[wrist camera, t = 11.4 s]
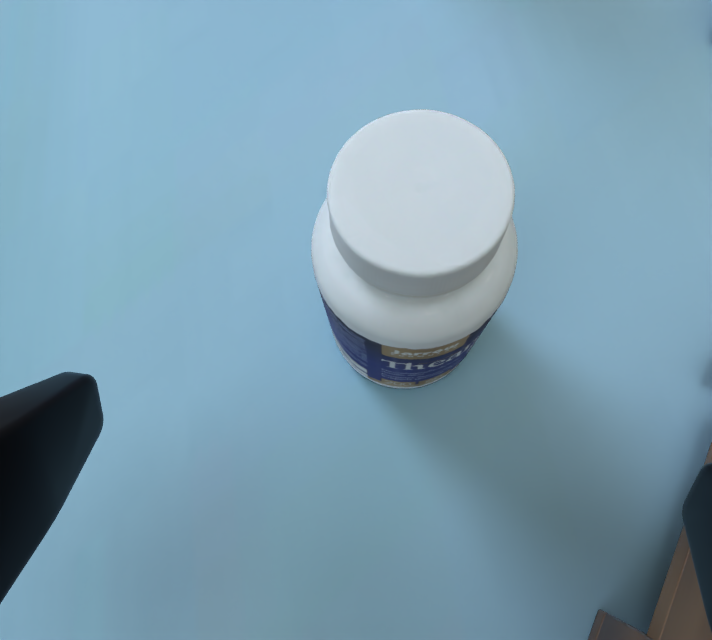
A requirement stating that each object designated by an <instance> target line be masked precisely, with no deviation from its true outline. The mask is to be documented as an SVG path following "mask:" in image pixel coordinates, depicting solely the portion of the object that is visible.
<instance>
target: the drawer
mask: <svg viewBox="0 0 712 640" xmlns="http://www.w3.org/2000/svg"><path fill="white" fill-rule="evenodd" d="M707 463H712V443H711V446H710V449H709V452H708V454H707V457H706V460H705V463H704V465H706V464H707ZM647 636H649V637H651V638H652V639H654V640H712V632H711V629H710V626H709V623H708V619H707V615H706V612H705V608H704V604H703V600H702V596H701V592H700V588H699V584H698V580H697V576H696V572H695V568H694V564H693V560H692V556H691V552H690V547H689V543H688V539H687V535H686V531H685V527H684V525H683V528H682V531H681V534H680V537H679V540H678V543H677V546H676V549H675V552H674V555H673V558H672V561H671V564H670V567H669V570H668V573H667V576H666V579H665V582H664V585H663V588H662V590H661V593H660V596H659V599H658V602H657V605H656V608H655V611H654V614H653V617H652V620H651V623H650V626H649V629H648V632H647Z"/></svg>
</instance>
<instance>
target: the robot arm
mask: <svg viewBox="0 0 712 640" xmlns="http://www.w3.org/2000/svg"><path fill="white" fill-rule="evenodd" d="M102 426H103V413H102V408H101V402H100V397H99V392H98V387H97V383H96V380H95V379H94V377H92V376H91V375H88V374H81V373H74V372H64V373H61V374H58V375H56V376H53V377H51V378H48V379H46V380H43V381H41V382H38V383H35V384H33V385H30V386H28V387H25V388H23V389H20V390H18V391H15V392H13V393H10V394H8V395H5V396H3V397H0V603H1V602H2V600H3V599H4V597H5V596H6V594H7V593H8V591H9V590H10V588H11V587H12V585H13V584H14V582H15V580H16V579H17V577H18V576H19V574H20V573H21V571H22V570H23V568H24V567H25V565H26V564H27V562H28V561H29V559H30V558H31V556H32V555H33V553H34V551H35V550H36V548H37V547H38V545H39V544H40V542H41V541H42V539H43V538H44V536H45V535H46V533H47V531H48V530H49V528H50V527H51V525H52V523H53V522H54V520H55V519H56V517H57V515H58V513H59V511H60V510H61V508H62V506H63V504H64V502H65V500H66V498H67V497H68V495H69V493H70V491H71V489H72V487H73V485H74V483H75V481H76V479H77V477H78V475H79V473H80V471H81V470H82V468H83V466H84V464H85V462H86V460H87V458H88V456H89V454H90V452H91V450H92V448H93V446H94V444H95V442H96V441H97V439H98V437H99V435H100V432H101V430H102ZM682 517H683V523H684V527H685V531H686V535H687V539H688V543H689V547H690V552H691V556H692V560H693V564H694V568H695V572H696V576H697V580H698V584H699V588H700V592H701V596H702V600H703V604H704V608H705V612H706V615H707V619H708V623H709V626H710V629H711V632H712V463H707V464H706V465H704V466H703V467H702V469H701V470H700V472H699V474H698V476H697V478H696V480H695V482H694V484H693V486H692V488H691V490H690V492H689V494H688V496H687V498H686V500H685V502H684V505H683V510H682Z"/></svg>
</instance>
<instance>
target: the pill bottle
mask: <svg viewBox="0 0 712 640" xmlns="http://www.w3.org/2000/svg"><path fill="white" fill-rule="evenodd" d="M514 199H515V187H514V181H513V177H512V173H511V169H510V167H509V164H508V162H507V160H506V158H505V156H504V154H503V152H502V151H501V150H500V148H499V147H498V146H497V144H496V143H495V142H494V141H493V140H492V139H491V138H490V137H489V136H488V135H487V134H486V133H485V132H484V131H482V130H481V129H480V128H478V127H477V126H475V125H473V124H472V123H470V122H468V121H466V120H465V119H462V118H460V117H458V116H455V115H452V114H449V113H445V112H441V111H435V110H426V109H421V110H408V111H401V112H396V113H392V114H389V115H386V116H384V117H380V118H378V119H376V120H374V121H372V122H371V123H369V124H367V125H365V126H364V127H362V128H361V129H360V130H359V131H357V132H356V133H355V134H354V135H353V136H352V137H351V138H350V139H349V140H348V141H347V142H346V143H345V144H344V146H343V147H342V149H341V150H340V151H339V153H338V155H337V157H336V159H335V160H334V163H333V165H332V167H331V171H330V174H329V179H328V185H327V198H326V199H325V201H324V203H323V205H322V206H321V208H320V211H319V213H318V215H317V219H316V222H315V225H314V229H313V234H312V244H311V256H312V263H313V269H314V275H315V278H316V281H317V284H318V288H319V291H320V294H321V297H322V300H323V303H324V307H325V310H326V313H327V316H328V319H329V322H330V326H331V329H332V332H333V335H334V338H335V341H336V343H337V345H338V347H339V349H340V351H341V353H342V355H343V356H344V358H345V359H346V360H347V362H348V363H349V364H350V365H351V366H352V367H353V368H354V369H355V370H356V371H357V372H359V373H360V374H361V375H363V376H364V377H366V378H367V379H369V380H371V381H373V382H375V383H377V384H379V385H383V386H387V387H392V388H406V389H409V388H417V387H423V386H426V385H429V384H431V383H434V382H436V381H438V380H440V379H442V378H443V377H445V376H446V375H448V374H449V373H450V372H451V371H452V370H454V369H455V368H456V367H457V366H458V364H459V363H460V362H461V361H462V360H463V359H464V357H465V356H466V355H467V353H468V352H469V350H470V349H471V347H472V346H473V345H474V343H475V342H476V340H477V339H478V337H479V335H480V334H481V333H482V331H483V329H484V328H485V327H486V325H487V324H488V322H489V321H490V319H491V318H492V316H493V315H494V314H495V312H496V311H497V309H498V308H499V306H500V305H501V304H502V302H503V300H504V298H505V296H506V294H507V292H508V290H509V287H510V285H511V283H512V279H513V276H514V273H515V269H516V263H517V252H518V250H517V235H516V229H515V225H514V222H513V219H512V213H513V208H514Z"/></svg>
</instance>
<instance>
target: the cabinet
mask: <svg viewBox="0 0 712 640" xmlns="http://www.w3.org/2000/svg"><path fill="white" fill-rule="evenodd" d="M588 640H654V639H652V638H651V637H649V636H647V634H645V633H644V632H642V631H640V630H638V629H636V628H634V627H632V626H631V625H629V624H627V623H625V622H623V621H621V620H620V619H618V618H616V617H614V616H612V615H610V614H608V613H607V612H605V611H603V610H598V613H597V616H596V618H595V621H594V624H593V627H592V629H591V632H590V635H589V638H588Z"/></svg>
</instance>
